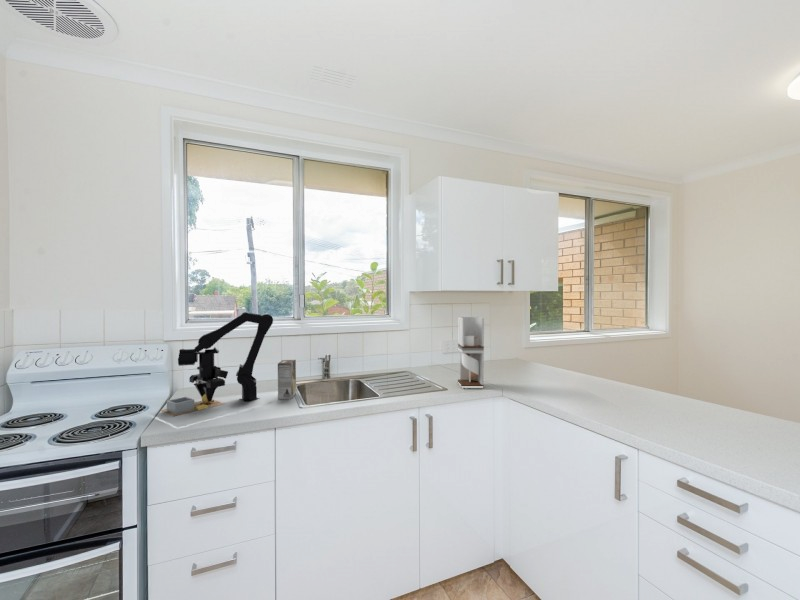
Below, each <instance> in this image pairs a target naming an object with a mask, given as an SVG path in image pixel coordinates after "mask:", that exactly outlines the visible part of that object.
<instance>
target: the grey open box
mask: <svg viewBox="0 0 800 600" xmlns="http://www.w3.org/2000/svg"><path fill="white" fill-rule="evenodd" d="M194 403H195V399H193V398H190V397H188V396H181V397H178V398H173V399H169V400H166V409H167V411H169V412H171V413H174V414H178V413H182V412H186V411H190V410H194Z"/></svg>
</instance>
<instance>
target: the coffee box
mask: <svg viewBox="0 0 800 600" xmlns="http://www.w3.org/2000/svg"><path fill="white" fill-rule="evenodd" d="M296 369H297V365H296V359H282V360H281V361H280V362H278V363H277V399H278V400H287V399H289V400H291V399H293V398H294V396H295V395H296V394H295V393H297V381H296V380H297V374H296V373H297V372H296V371H297V370H296Z"/></svg>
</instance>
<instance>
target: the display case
mask: <svg viewBox="0 0 800 600" xmlns="http://www.w3.org/2000/svg"><path fill="white" fill-rule="evenodd" d="M484 340H485V318H484V317H479V316H458V317H457V350H458V351H459V379H457V383H458V382H459V383H460V384H461V386H485V385H484V384H485V383H484V382H485V381H484V374H485V373H484V372H485V371H484V367H485V363H484V361H485V360H484V359H485V357H484V355H485V353H484V352H485V345H484V343H485V341H484Z"/></svg>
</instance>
